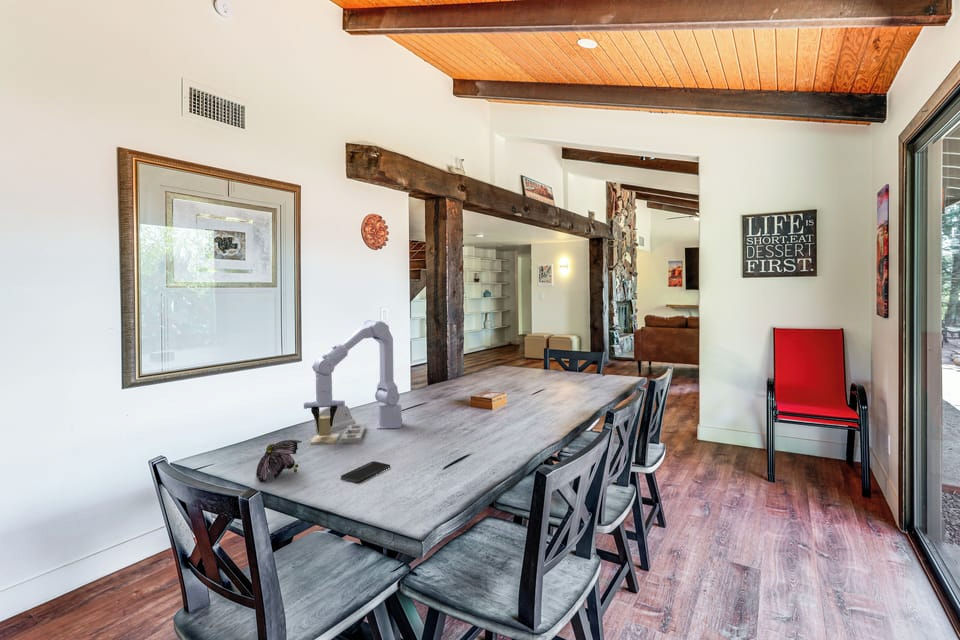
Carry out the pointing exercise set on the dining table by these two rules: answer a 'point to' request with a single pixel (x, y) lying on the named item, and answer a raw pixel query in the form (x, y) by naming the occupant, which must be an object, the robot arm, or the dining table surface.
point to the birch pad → (325, 439)
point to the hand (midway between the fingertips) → (325, 426)
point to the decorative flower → (277, 459)
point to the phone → (365, 472)
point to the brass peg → (324, 426)
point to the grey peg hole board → (353, 433)
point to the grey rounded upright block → (337, 418)
